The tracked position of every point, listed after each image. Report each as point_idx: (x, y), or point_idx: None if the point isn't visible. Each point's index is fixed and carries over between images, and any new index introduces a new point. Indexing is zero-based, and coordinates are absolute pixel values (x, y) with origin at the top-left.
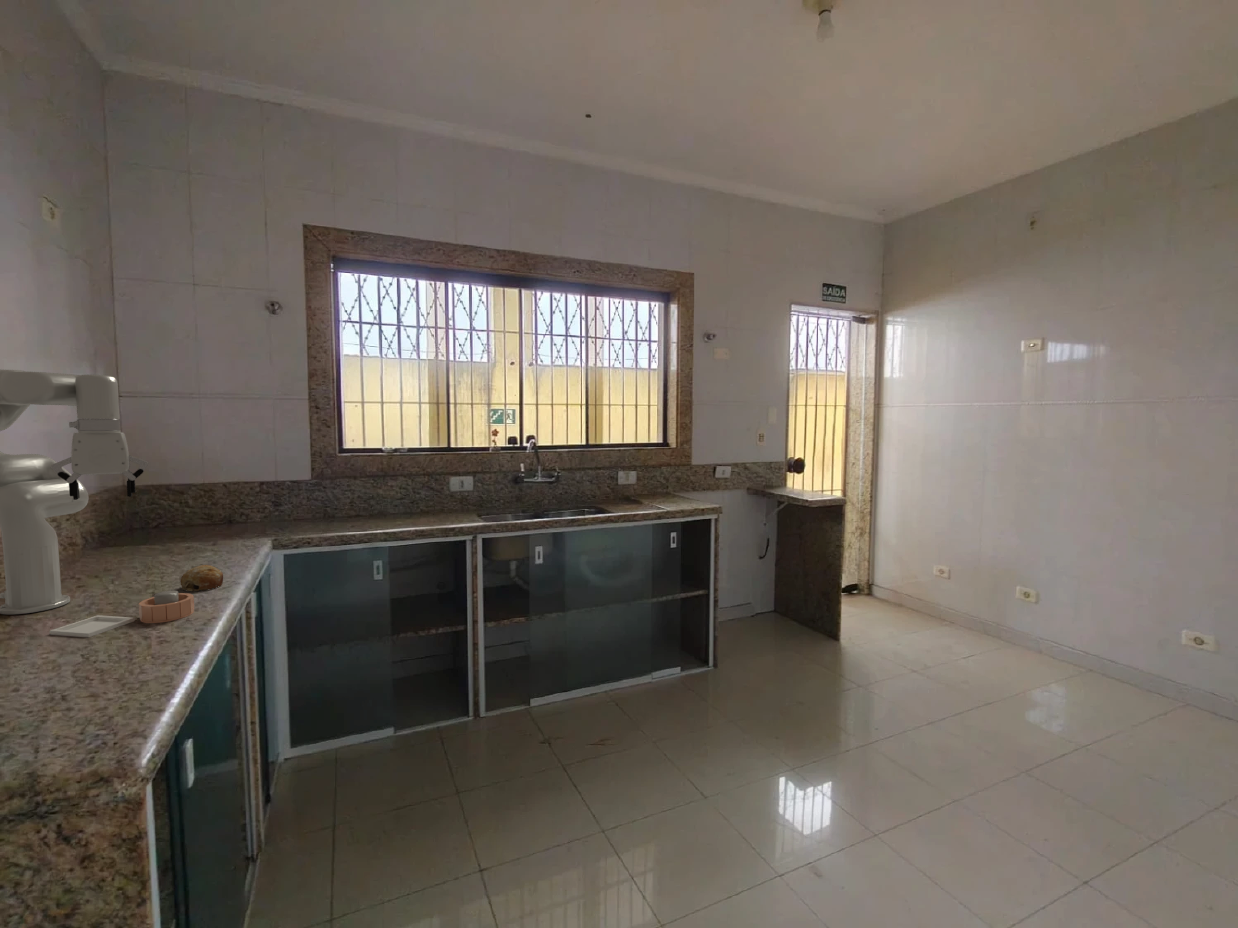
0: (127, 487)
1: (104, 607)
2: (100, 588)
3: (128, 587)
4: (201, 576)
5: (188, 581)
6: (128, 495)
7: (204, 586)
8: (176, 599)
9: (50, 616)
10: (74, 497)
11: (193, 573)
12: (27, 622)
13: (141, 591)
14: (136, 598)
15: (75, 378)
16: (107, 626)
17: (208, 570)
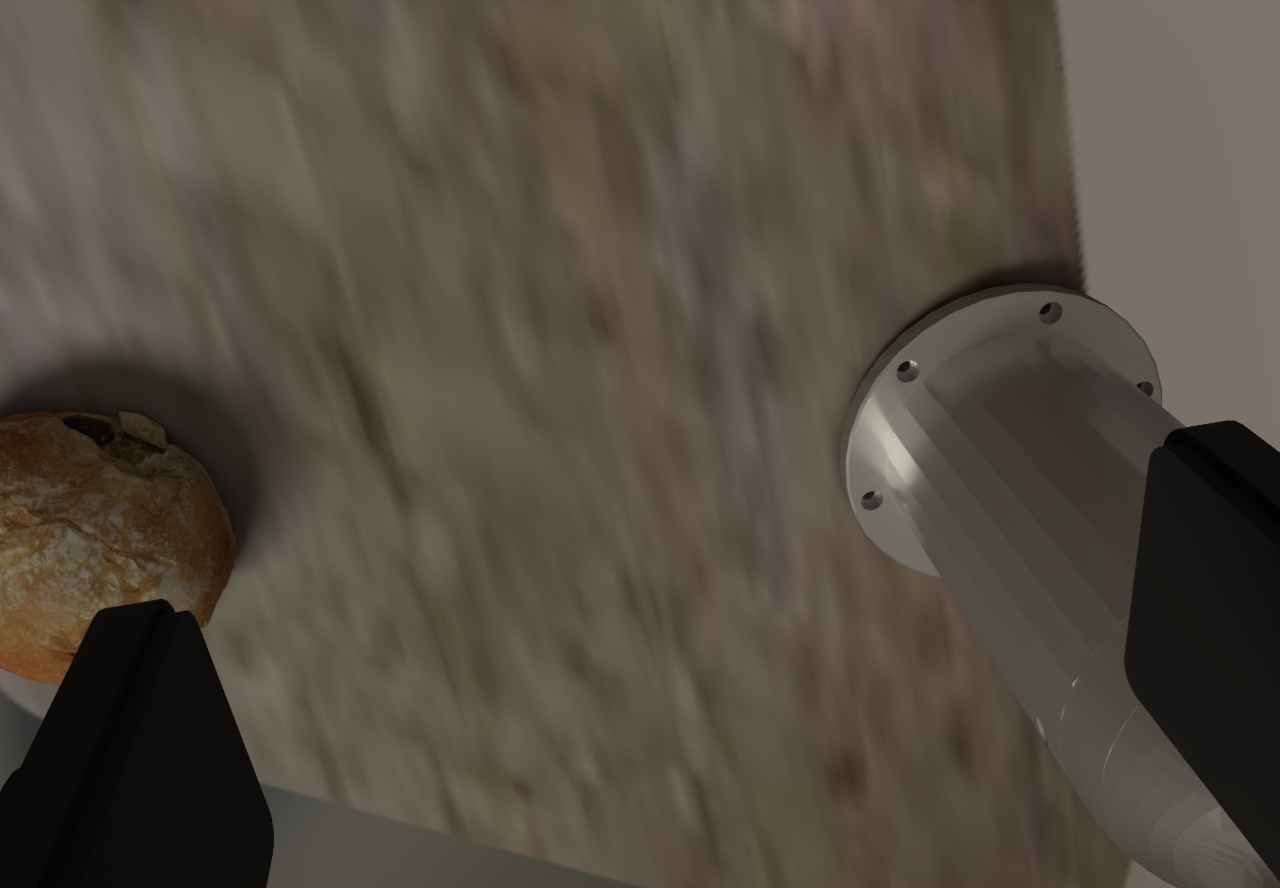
0: (107, 784)
1: (612, 231)
2: (739, 701)
3: (590, 669)
4: (21, 474)
5: (137, 472)
6: (153, 605)
7: (25, 418)
8: None
9: (882, 154)
10: (1236, 433)
11: (86, 518)
12: (983, 64)
13: (486, 547)
14: (467, 382)
15: None
16: None
17: None
